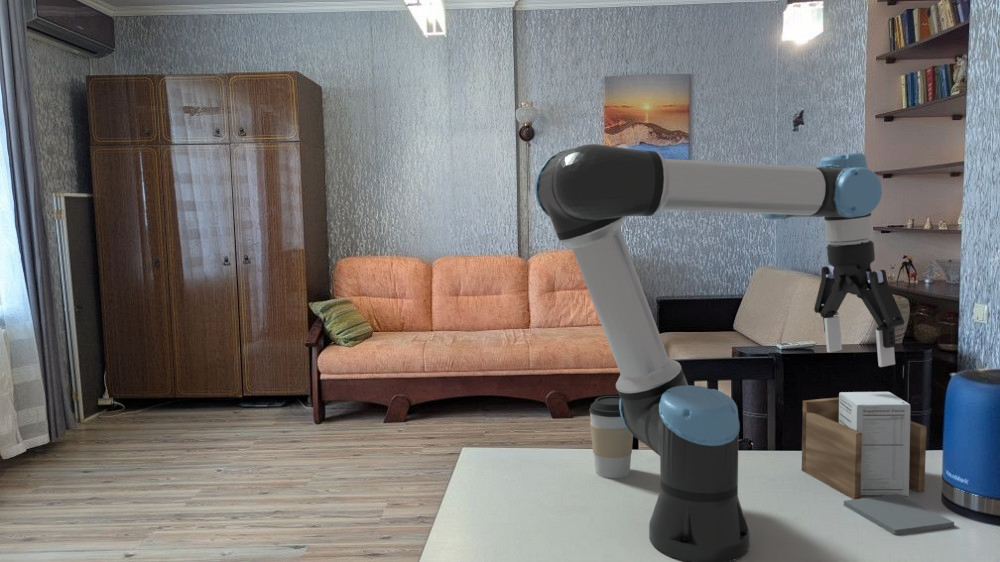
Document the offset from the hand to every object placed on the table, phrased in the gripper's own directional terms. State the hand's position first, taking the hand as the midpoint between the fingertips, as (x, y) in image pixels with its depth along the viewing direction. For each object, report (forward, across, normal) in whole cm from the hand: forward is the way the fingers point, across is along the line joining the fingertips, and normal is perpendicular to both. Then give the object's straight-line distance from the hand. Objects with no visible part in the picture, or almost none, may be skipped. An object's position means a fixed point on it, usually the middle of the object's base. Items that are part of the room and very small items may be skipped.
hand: (859, 357), depth 132 cm
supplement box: (+25, 0, 0) cm, 25 cm away
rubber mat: (+24, -12, +5) cm, 27 cm away
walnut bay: (+24, +2, 0) cm, 25 cm away
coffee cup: (+20, +20, +42) cm, 51 cm away
